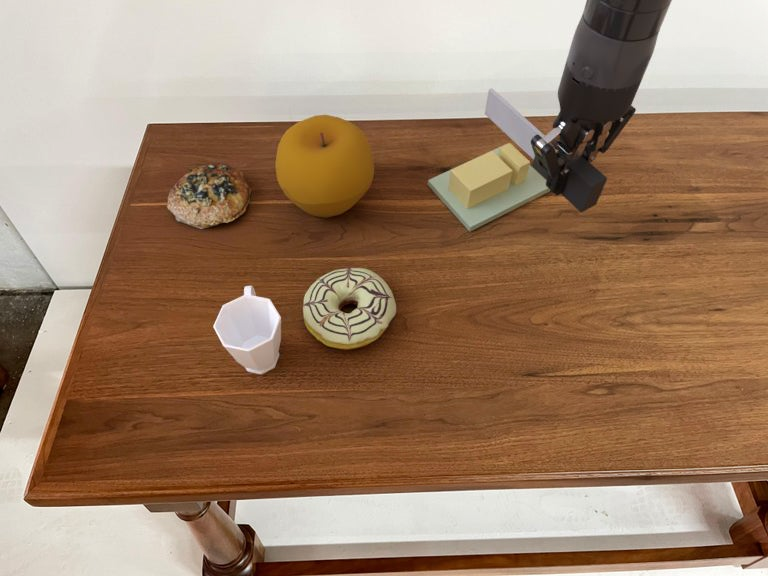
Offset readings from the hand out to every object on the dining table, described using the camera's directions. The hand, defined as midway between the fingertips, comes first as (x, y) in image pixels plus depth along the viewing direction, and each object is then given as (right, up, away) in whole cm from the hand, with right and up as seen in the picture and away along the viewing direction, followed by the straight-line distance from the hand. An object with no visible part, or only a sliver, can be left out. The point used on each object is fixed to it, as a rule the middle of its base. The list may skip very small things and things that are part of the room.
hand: (563, 185), depth 73 cm
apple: (-29, 0, +10) cm, 31 cm away
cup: (-36, -19, -3) cm, 41 cm away
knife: (-3, +4, +3) cm, 5 cm away
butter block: (-9, +1, +9) cm, 13 cm away
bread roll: (-46, -1, +10) cm, 47 cm away
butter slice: (-4, +4, +11) cm, 12 cm away
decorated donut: (-26, -16, -1) cm, 31 cm away
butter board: (-7, +1, +11) cm, 13 cm away
